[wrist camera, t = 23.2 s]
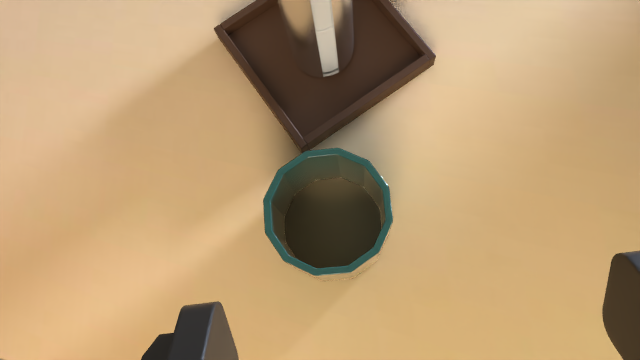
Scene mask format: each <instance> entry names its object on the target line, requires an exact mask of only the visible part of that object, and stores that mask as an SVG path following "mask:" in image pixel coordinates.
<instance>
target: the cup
mask: <svg viewBox="0 0 640 360" xmlns="http://www.w3.org/2000/svg"><path fill="white" fill-rule="evenodd" d="M332 178H343V179H345V180H348V181H350V182H352V183H355V184H357V185H359V186H362V187H364V188H365V189H366V191H367V192H368V193H369V195H370V196H371V198H372V199H373V200H374V202H375V203H376V204H377V206H378V207H379V210H380V219H381V227H382V229H381V231H380V233H379V235H378V238H377V240H376V242H375V244H374V247H373V248H372V249H370V250H369V251H368V252H366V253H365V254H363V255H362V256H361V257H359V258H358V259H356V260H355V261H354V262H352V263H351V264H349V265H348V266H339V267H327V268H315V267H312V266H310V265H308V264H306V263H304V262H302V261H300V260H298V259H297V258H296V257H295V255H294V254H293V252H292V251H291V249H290V248H289V246H288V245H287V243H286V236H285V220H284V217H285V215H286V213H287V211H288V208H289V206H290V204H291V202H292V200H293V198H294V196H295V194H297V193H298V192H300V191H301V190H302V189H304V188H305V187H307V186H308V185H310V184H311V183H313V182H314V181H315V180H322V179H332ZM263 205H264V223H265V233H266V235H267V237H268V238H269V240H270V241H271V243H272V244H273V246H274V247H275V249H276V250H277V252H278V253H279V255H280V256H281V258H282V259H283V261H285V262H286V263H288V264H289V265H291V266H293V267H294V268H296V269H298V270H300V271H302V272H304V273H306V274H308V275H310V276H312V277H315V278H317V279H319V280H321V281H333V280H344V279H352V278H354V277H356V276H357V275H358V274H360V273H361V272H363V271H364V270H365V269H367V268H368V267H370V266H371V265H372V264H374V263H375V262H376V261H377V260H378V257H379V255H380V253H381V251H382V248H383V246H384V244H385V241H386V239H387V237H388V235H389V231H390V228H391V225H392V222H393V216H392V207H391V199H390V191H389V186H388V185H387V184H386V182H385V181H384V180H383V178H382V177H381V176H380V175H379V173H378V172H377V171H376V169H375V168H374V167H373V165H372V164H371V163H370V161H368V160H366V159H364V158H361V157H359V156H357V155H354V154H352V153H350V152H347V151H345V150H343V149H340V148H331V149H321V150H312V151H305V152H303V153H302V154H300V155H299V156H298V157H296V158H295V159H293V160H292V161H290V162H289V163H287V164H286V165H284V166H283V167H282V168H280V169H279V170H278V171H277V173H276V175H275V177H274V179H273V181H272V183H271V185H270V187H269V189H268V191H267V193H266V195H265V197H264V199H263Z"/></svg>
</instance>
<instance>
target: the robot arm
mask: <svg viewBox="0 0 640 360" xmlns="http://www.w3.org/2000/svg"><path fill="white" fill-rule="evenodd" d="M602 314H603V322H604V326H605V329H606V332H607V334H608V336H609V338H610V340H611V342H612V343H613V345H614V346H615V348H616V349H617V351H618V352H619V354H620V355H621V357H622V358H623V360H640V251H634V252H626V253H618V254H616V255H615V256H614V257H613V259H612V262H611V267H610V272H609V277H608V282H607V288H606V293H605V298H604V304H603V312H602ZM141 360H239V359H238V353H237V349H236V346H235V343H234V340H233V337H232V334H231V331H230V328H229V325H228V322H227V318H226V315H225V312H224V309H223V306H222V304H221V303H220V302H210V303H202V304H194V305H186V306H183V307H182V308H181V310H180V313H179V317H178V320H177V324H176V327H175V330H174V333H168V334H160V335H159V336H158V337H157V338H156V339H155V341H154V342H153V343H152V345H151V346H150V347H149V348H148V350H147V351H146V352H145V353H144V355H143V356H142V359H141Z"/></svg>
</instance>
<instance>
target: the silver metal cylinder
mask: <svg viewBox="0 0 640 360" xmlns="http://www.w3.org/2000/svg"><path fill="white" fill-rule="evenodd" d="M278 4H279V7H280V11H281V15H282V18H283V22H284V25H285V29H286V32H287V36H288V40H289V43H290V47H291V50H292V54H293V57H294V60H295V62H296V64H297V66H298V67H299V68H300V69H301V70H302V71H303V72H305V73H306V74H308V75H311V76H314V77H321V78H325V77H331V76H334V75H336V74H338V73H340V72H341V71H342V70H344V69H345V68H346V67H347V66H348V64H349V63H350V61H351V59H352V56H353V51H354V37H353V12H352V0H278Z"/></svg>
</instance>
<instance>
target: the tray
mask: <svg viewBox="0 0 640 360" xmlns="http://www.w3.org/2000/svg"><path fill="white" fill-rule="evenodd" d="M352 12H353V37H354V51H353V56H352V59H351V61H350V63H349V64H348V66H347V67H346V68H345V69H344V70H342V71H341V72H340V73H338V74H336V75H334V76H331V77H325V78H321V77H314V76H311V75H308V74H306V73H305V72H303V71H302V70H301V69H300V68H299V67H298V66H297V64H296V62H295V60H294V57H293V54H292V50H291V47H290V43H289V40H288V36H287V32H286V29H285V25H284V22H283V18H282V15H281V11H280V7H279V4H278V0H256V1H255V2H253V3H252V4H250V5H248V6H247V7H245V8H244V9H242V10H241V11H239V12H238V13H236V14H235V15H233V16H232V17H230V18H229V19H227V20H226V21H224V22H223V23H221V24H220V25H218V26H216V27H215V28H214V30H215V32H216V34H217V36H218V38H219V39H220V41H221V42H222V43H223V45H224V46H225V47H226V49H227V50H228V52H229V53H230V54H231V56H232V57H233V59H234V60H235V61H236V63H237V64H238V65H239V67H240V68H241V70H242V71H243V72H244V74H245V75H246V77H247V78H248V79H249V81H250V82H251V83H252V85H253V86H254V88H255V89H256V90H257V92H258V93H259V94H260V96H261V97H262V99H263V100H264V101H265V103H266V104H267V106H268V107H269V108H270V110H271V111H272V112H273V114H274V115H275V117H276V118H277V119H278V121H279V122H280V124H281V125H282V126H283V128H284V129H285V130H286V132H287V133H288V135H289V136H290V137H291V139H292V140H293V141H294V143H295V144H296V146H297V147H298V148H299V150H300V151H301V153H303V152H305V151H309V150H310V149H312V148H313V147H314V146H316V145H317V144H319V143H320V142H322V141H323V140H325V139H326V138H328V137H329V136H330V135H332V134H333V133H335V132H336V131H338V130H339V129H341V128H342V127H344V126H345V125H346V124H348V123H349V122H351V121H352V120H354V119H355V118H357V117H358V116H360V115H361V114H362V113H364V112H365V111H367V110H368V109H370V108H371V107H373V106H374V105H376V104H377V103H378V102H380V101H381V100H383V99H384V98H386V97H387V96H389V95H390V94H392V93H393V92H394V91H396V90H397V89H399V88H400V87H402V86H403V85H405V84H406V83H408V82H409V81H410V80H412V79H413V78H415V77H416V76H418V75H419V74H421V73H422V72H424V71H425V70H426V69H428V68H429V67H431V66H432V65H434V61H435V57H436V55H435V54H434V53H433V52H432V50H431V49H430V48H429V47H428V46H427V45H426V43H425V42H424V41H423V40H422V39H421V38H420V36H419V35H418V34H417V33H416V32H415V31H414V29H413V28H412V27H411V26H410V25H409V24H408V22H407V21H406V20H405V19H404V18H403V17H402V15H401V14H400V13H399V12H398V11H397V10H396V8H395V7H394V6H393V5H392V4H391V3H390V1H389V0H352Z"/></svg>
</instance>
